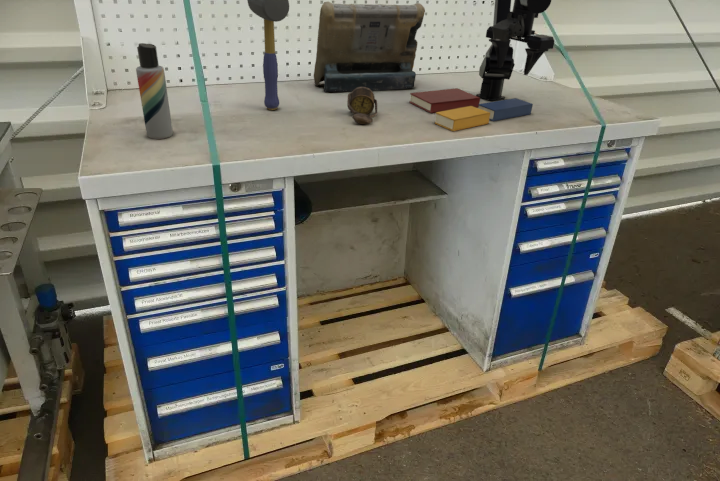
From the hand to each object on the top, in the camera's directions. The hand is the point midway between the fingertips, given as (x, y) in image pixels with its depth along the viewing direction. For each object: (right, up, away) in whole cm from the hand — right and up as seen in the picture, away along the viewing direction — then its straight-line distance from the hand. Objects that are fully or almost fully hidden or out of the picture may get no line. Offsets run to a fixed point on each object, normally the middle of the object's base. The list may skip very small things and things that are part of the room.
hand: (512, 71), depth 141 cm
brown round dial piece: (-41, -13, -2) cm, 43 cm away
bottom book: (-17, -6, +12) cm, 21 cm away
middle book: (-1, -10, +6) cm, 12 cm away
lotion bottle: (-87, -22, -21) cm, 92 cm away
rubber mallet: (-65, -10, 0) cm, 66 cm away
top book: (-14, -15, -3) cm, 21 cm away
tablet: (-39, +3, +25) cm, 47 cm away
